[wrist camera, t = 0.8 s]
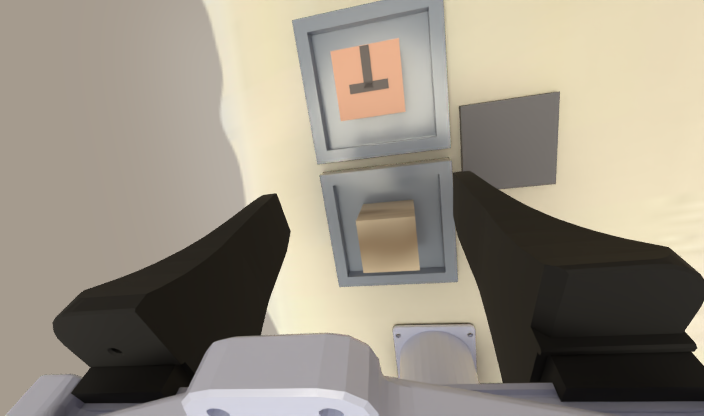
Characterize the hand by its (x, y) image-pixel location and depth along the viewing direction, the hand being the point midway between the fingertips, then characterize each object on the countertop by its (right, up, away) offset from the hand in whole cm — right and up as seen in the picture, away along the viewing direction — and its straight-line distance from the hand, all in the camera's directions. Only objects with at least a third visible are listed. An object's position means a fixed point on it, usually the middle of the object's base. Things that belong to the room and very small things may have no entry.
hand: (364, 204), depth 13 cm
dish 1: (+1, +10, +12) cm, 16 cm away
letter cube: (+1, +10, +12) cm, 16 cm away
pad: (+12, +5, +12) cm, 18 cm away
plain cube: (+3, -2, +16) cm, 16 cm away
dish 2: (+3, -2, +16) cm, 16 cm away
